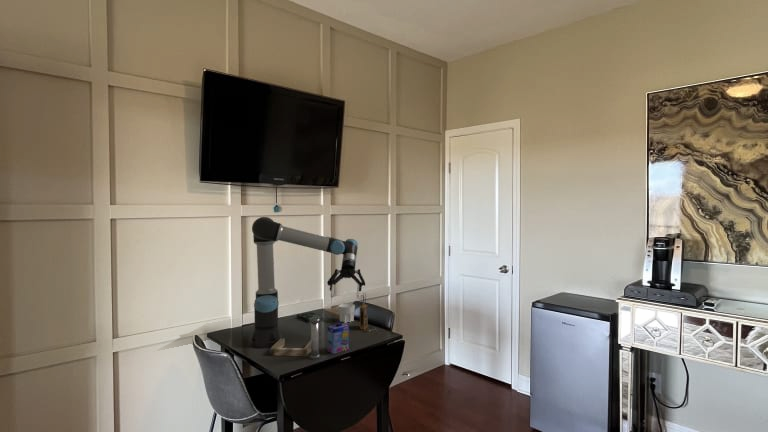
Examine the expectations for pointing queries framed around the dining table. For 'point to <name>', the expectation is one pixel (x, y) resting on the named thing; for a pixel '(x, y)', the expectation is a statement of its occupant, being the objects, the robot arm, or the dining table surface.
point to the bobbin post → (314, 338)
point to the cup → (346, 312)
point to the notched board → (289, 349)
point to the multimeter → (363, 315)
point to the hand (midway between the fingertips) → (344, 296)
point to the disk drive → (308, 316)
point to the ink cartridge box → (337, 338)
